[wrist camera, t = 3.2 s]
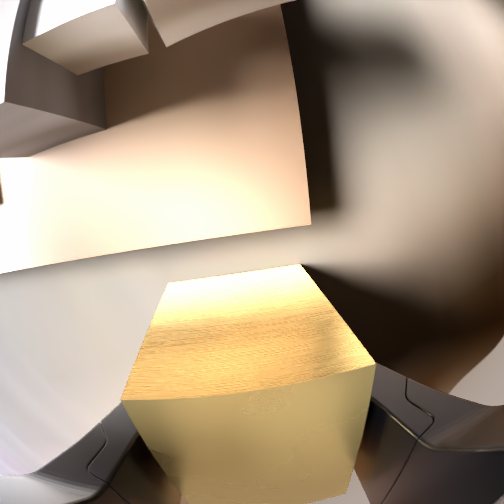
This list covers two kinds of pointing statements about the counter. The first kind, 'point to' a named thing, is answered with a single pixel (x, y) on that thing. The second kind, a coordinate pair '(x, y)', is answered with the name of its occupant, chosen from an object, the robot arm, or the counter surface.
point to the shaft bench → (144, 126)
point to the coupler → (251, 389)
